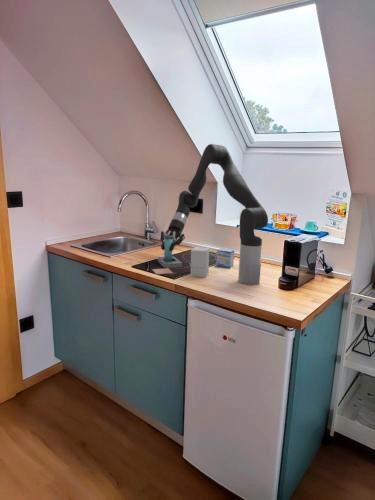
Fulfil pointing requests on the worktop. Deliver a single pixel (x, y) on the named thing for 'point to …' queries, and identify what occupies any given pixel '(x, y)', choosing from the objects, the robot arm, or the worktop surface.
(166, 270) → the coaster
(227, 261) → the medicine box
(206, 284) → the worktop surface
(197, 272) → the supplement box
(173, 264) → the grey base plate
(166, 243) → the plug
